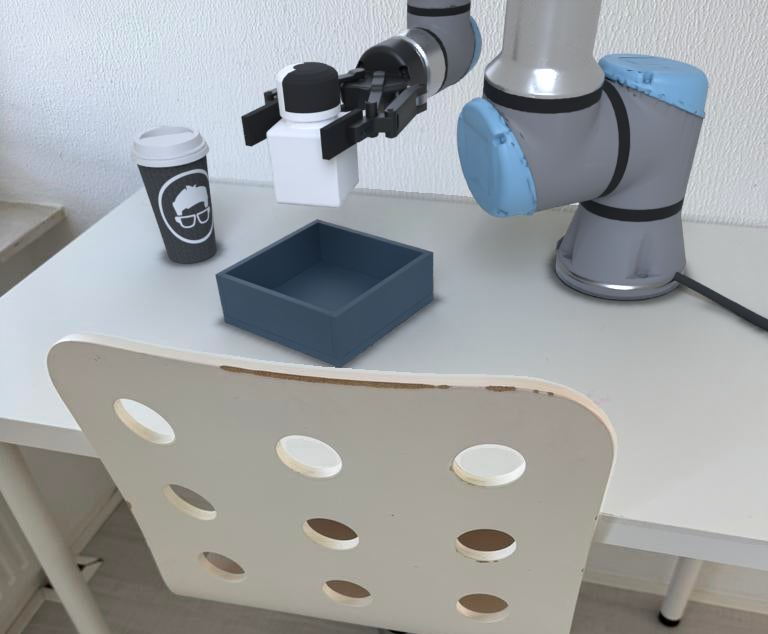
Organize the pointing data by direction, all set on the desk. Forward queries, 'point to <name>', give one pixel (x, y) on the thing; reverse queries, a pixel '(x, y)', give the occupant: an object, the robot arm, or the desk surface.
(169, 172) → the coffee cup
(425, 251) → the bin
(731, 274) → the desk surface
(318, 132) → the medicine bottle
